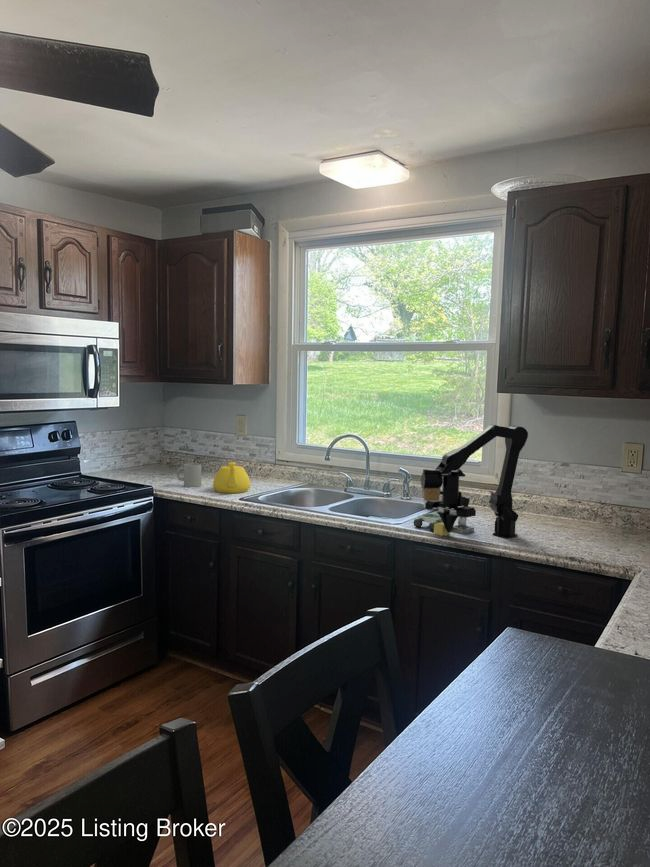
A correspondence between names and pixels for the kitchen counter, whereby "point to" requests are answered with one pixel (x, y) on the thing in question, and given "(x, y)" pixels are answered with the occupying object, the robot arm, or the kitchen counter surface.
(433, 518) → the trolley
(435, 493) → the coffee cup
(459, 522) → the pin
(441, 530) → the block
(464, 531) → the socket
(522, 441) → the robot arm
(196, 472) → the mug
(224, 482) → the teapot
